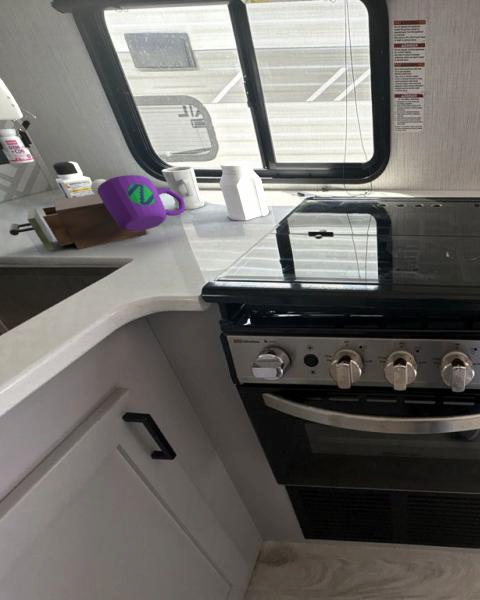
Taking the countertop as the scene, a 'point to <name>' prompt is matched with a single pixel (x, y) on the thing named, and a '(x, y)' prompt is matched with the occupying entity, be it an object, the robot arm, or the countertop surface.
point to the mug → (136, 202)
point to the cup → (184, 186)
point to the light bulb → (96, 185)
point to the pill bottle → (14, 146)
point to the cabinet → (90, 221)
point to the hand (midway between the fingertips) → (15, 147)
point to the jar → (242, 191)
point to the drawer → (41, 229)
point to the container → (72, 180)
